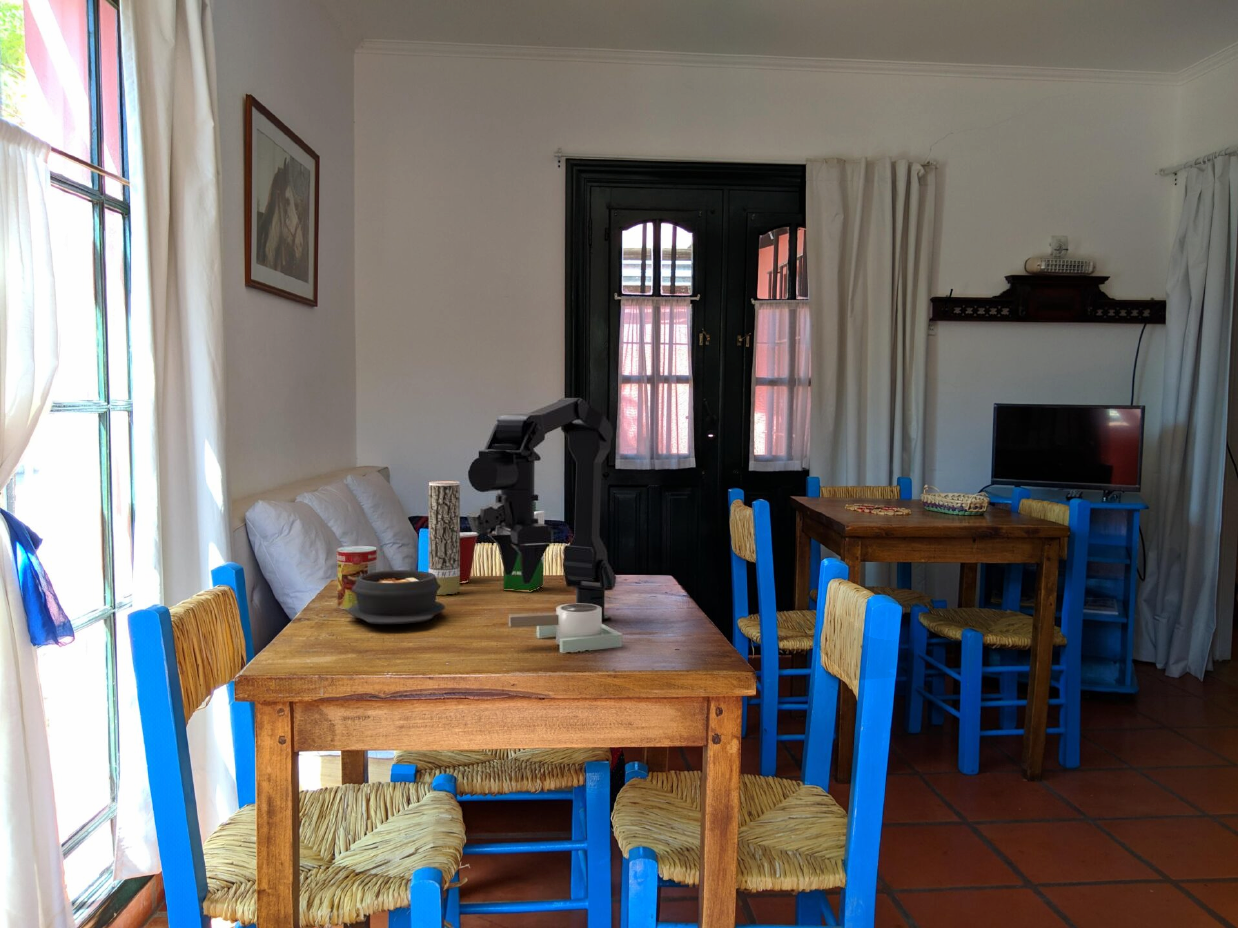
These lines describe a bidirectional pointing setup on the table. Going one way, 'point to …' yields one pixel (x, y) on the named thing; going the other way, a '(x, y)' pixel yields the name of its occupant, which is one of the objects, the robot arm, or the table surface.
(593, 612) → the saucepan
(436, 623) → the table surface
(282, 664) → the table surface
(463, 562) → the plastic cup
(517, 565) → the milk carton
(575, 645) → the u-shaped frame
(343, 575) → the canned food
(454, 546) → the paper tube
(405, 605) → the casserole
